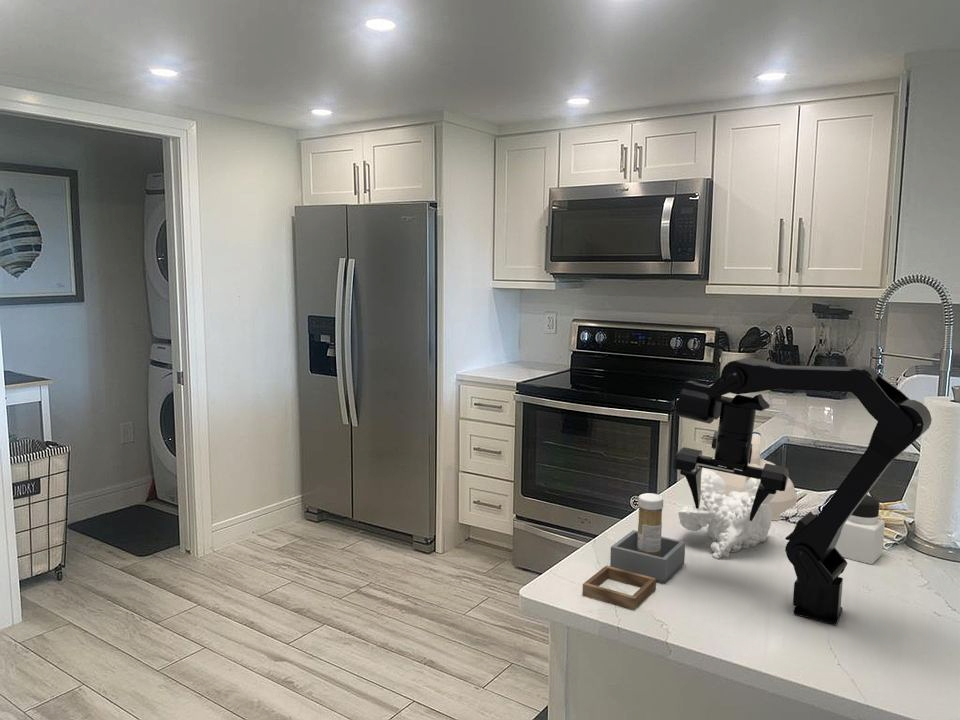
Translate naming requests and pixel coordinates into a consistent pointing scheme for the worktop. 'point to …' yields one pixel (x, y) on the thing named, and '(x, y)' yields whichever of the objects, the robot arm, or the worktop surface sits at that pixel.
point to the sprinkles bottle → (650, 524)
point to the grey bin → (648, 557)
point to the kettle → (738, 482)
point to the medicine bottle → (863, 533)
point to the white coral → (728, 515)
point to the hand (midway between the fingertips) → (723, 513)
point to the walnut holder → (619, 598)
